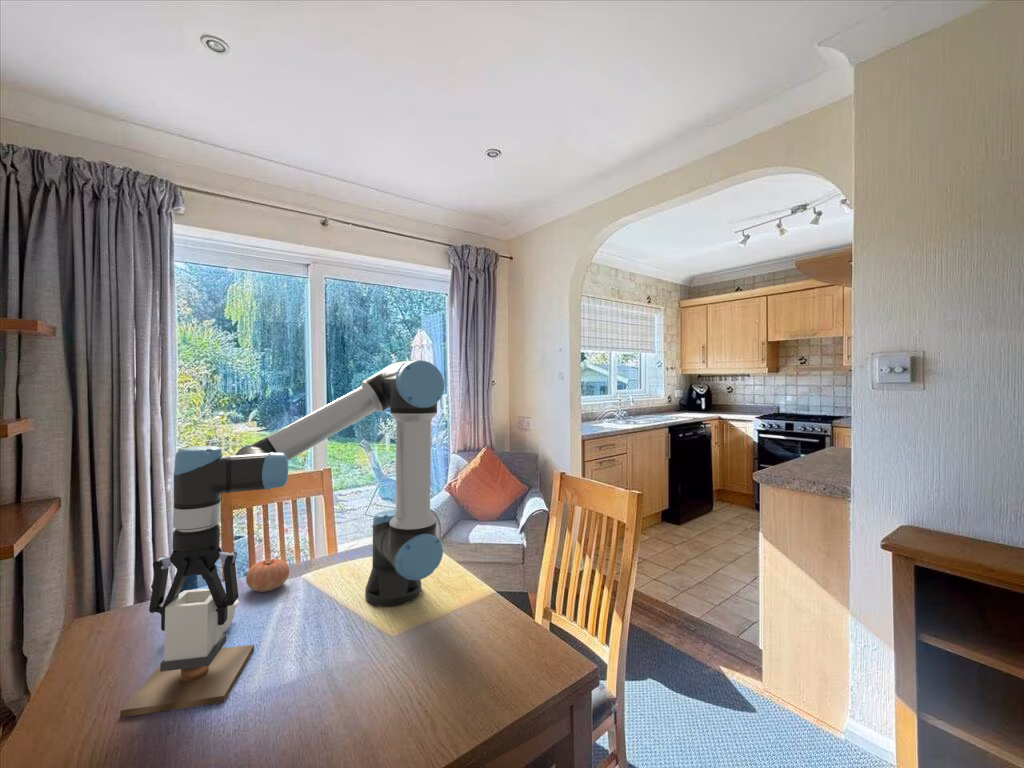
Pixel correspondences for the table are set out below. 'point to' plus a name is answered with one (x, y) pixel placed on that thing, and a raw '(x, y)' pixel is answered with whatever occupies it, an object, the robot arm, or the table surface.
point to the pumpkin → (267, 575)
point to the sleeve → (189, 625)
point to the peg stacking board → (190, 684)
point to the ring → (194, 659)
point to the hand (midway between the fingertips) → (194, 642)
